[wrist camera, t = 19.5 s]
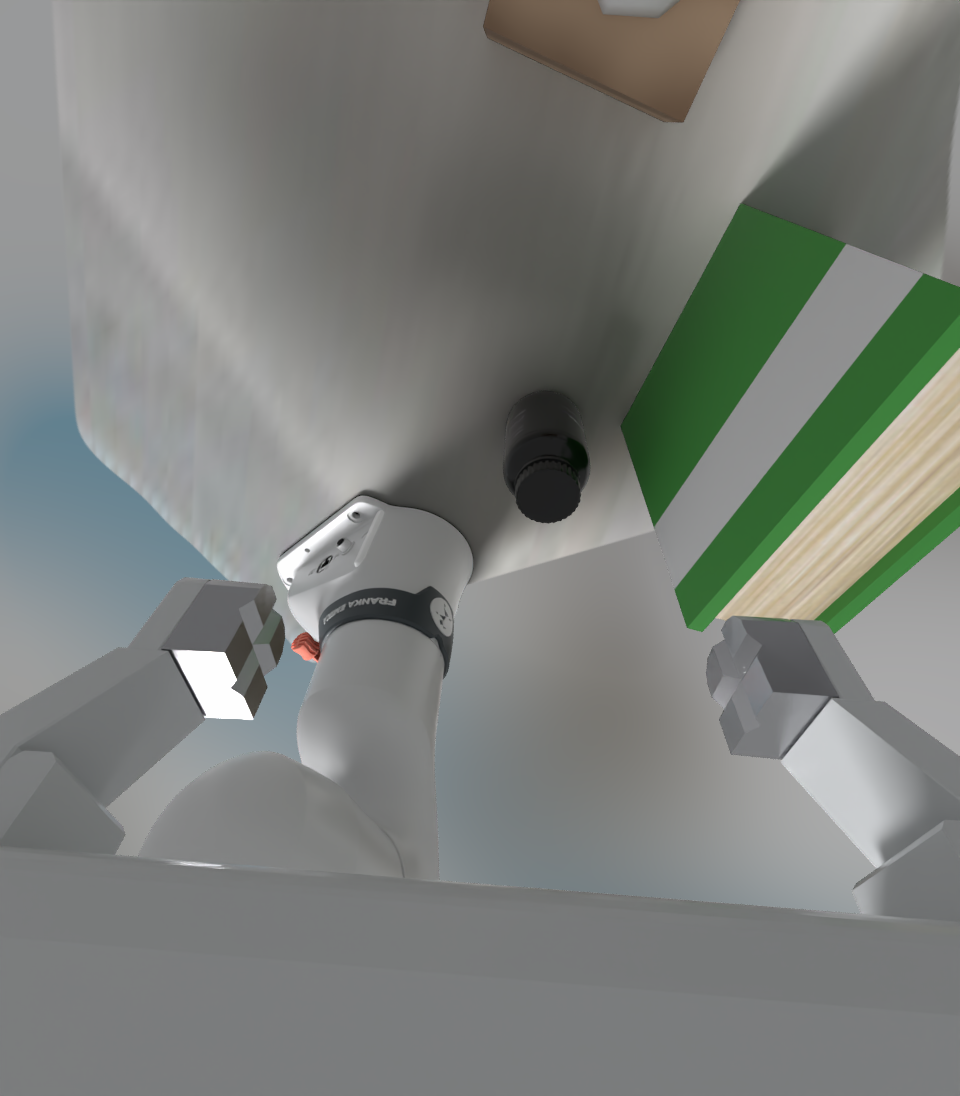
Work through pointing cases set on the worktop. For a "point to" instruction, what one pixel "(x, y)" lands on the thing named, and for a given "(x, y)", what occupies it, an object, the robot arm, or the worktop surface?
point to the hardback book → (800, 427)
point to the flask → (636, 7)
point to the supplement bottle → (546, 456)
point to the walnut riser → (618, 47)
